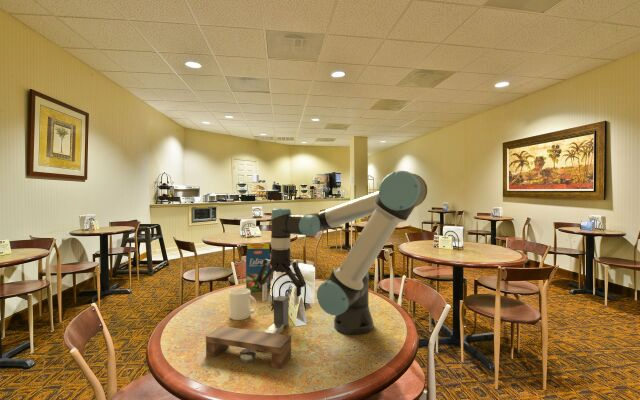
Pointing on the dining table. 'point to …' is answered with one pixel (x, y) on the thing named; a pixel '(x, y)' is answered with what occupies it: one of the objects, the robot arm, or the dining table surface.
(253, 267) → the blue food package
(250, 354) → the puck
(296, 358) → the dining table surface
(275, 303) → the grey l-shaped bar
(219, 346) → the riser
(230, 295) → the mug
